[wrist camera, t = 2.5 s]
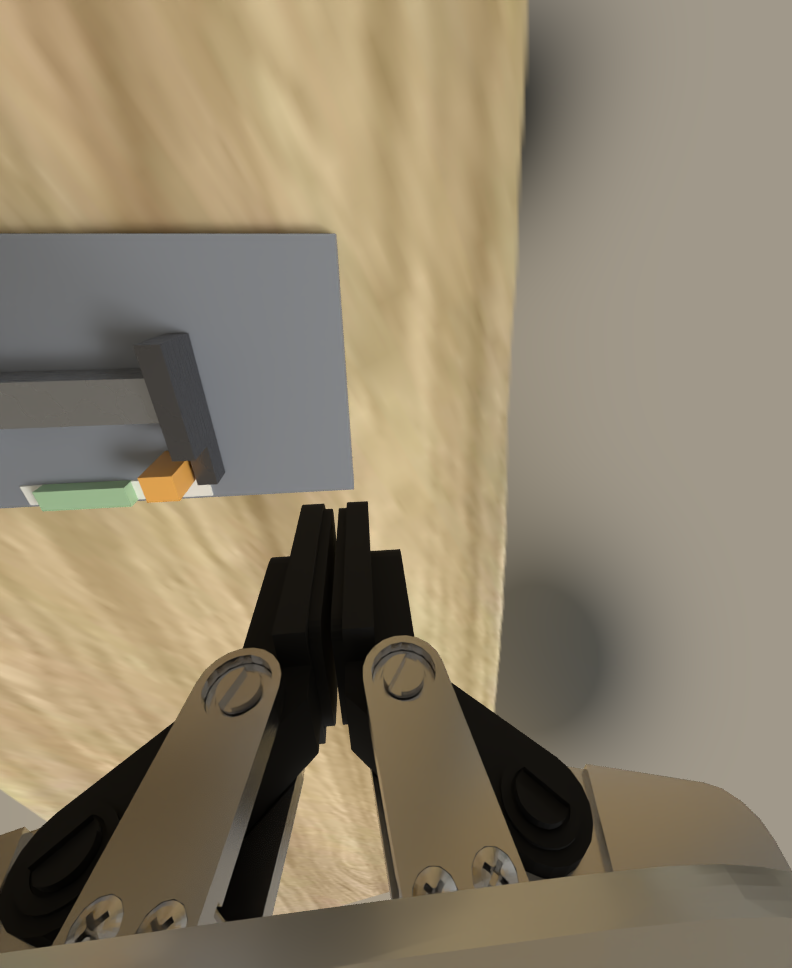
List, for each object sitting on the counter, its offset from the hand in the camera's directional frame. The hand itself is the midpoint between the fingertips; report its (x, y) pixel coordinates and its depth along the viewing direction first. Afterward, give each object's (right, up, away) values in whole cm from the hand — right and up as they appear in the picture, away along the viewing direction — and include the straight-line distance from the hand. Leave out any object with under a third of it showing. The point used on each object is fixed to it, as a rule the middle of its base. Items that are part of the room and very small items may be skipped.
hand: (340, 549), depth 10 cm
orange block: (-12, +3, +14) cm, 19 cm away
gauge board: (-14, +8, +13) cm, 21 cm away
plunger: (-17, +6, +12) cm, 22 cm away
